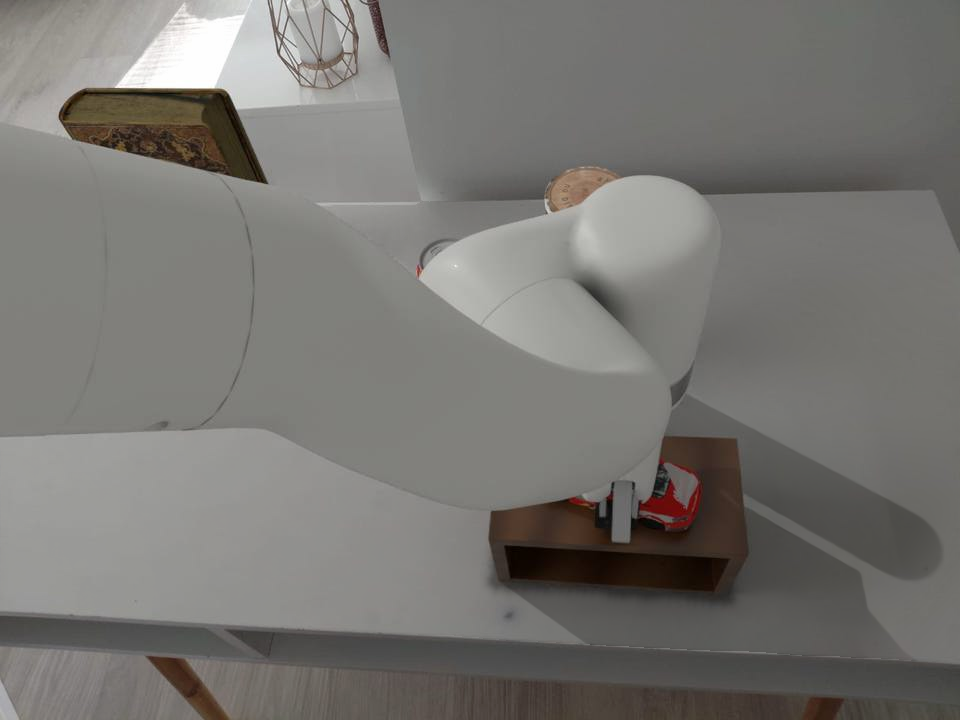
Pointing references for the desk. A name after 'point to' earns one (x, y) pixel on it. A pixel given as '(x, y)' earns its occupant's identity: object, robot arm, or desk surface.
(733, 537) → the shelf
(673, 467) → the race car
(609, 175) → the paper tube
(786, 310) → the desk surface
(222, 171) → the book
